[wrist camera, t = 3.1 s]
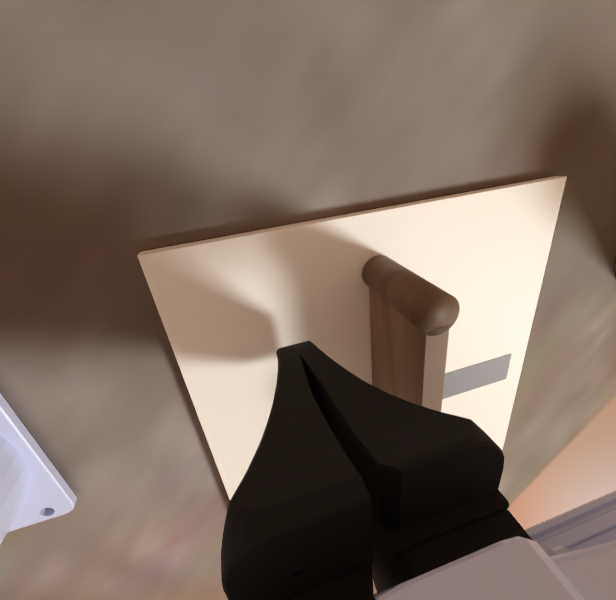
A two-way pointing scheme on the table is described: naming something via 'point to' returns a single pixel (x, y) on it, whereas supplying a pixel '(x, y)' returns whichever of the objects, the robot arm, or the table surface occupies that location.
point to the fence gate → (408, 332)
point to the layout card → (353, 303)
